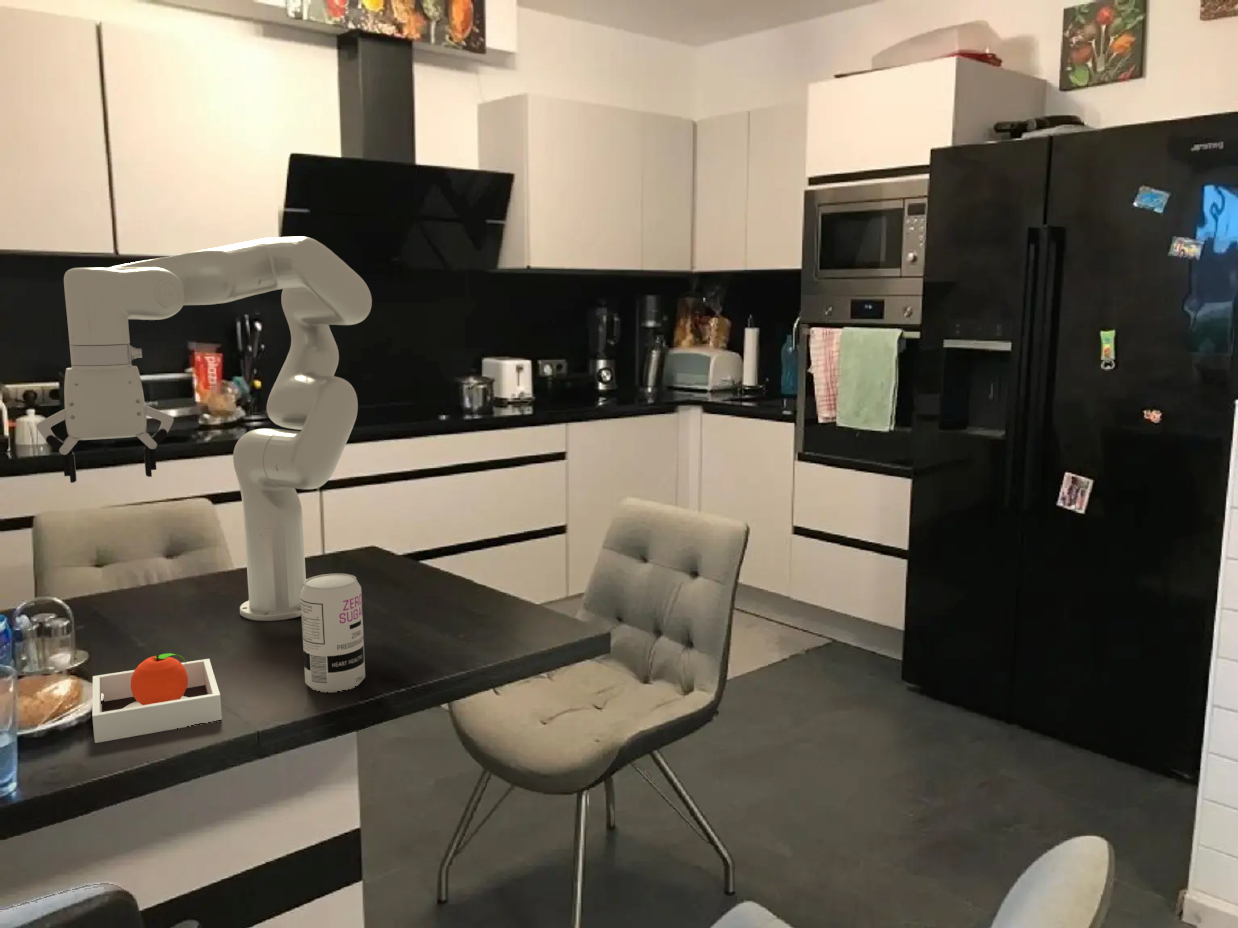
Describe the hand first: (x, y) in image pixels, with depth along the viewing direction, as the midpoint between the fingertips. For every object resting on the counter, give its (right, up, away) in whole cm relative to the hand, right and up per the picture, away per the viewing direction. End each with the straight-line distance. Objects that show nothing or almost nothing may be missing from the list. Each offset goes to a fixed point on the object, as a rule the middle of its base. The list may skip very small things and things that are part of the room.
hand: (111, 478), depth 145 cm
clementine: (+12, -30, -10) cm, 34 cm away
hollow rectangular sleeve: (+11, -31, -11) cm, 34 cm away
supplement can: (+32, -29, -1) cm, 43 cm away
